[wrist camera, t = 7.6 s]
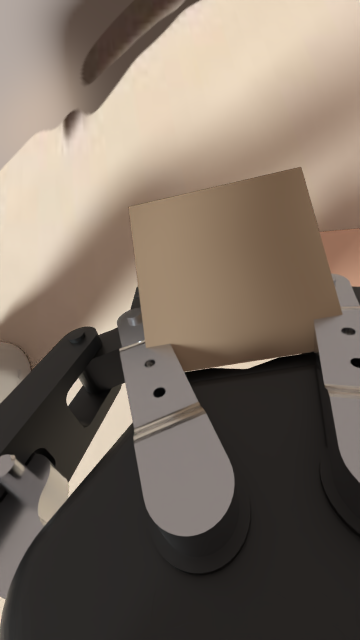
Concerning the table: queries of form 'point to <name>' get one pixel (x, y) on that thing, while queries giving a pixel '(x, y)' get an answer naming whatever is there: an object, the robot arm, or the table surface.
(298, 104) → the table surface
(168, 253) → the brown block
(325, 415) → the robot arm
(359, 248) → the upper slab
